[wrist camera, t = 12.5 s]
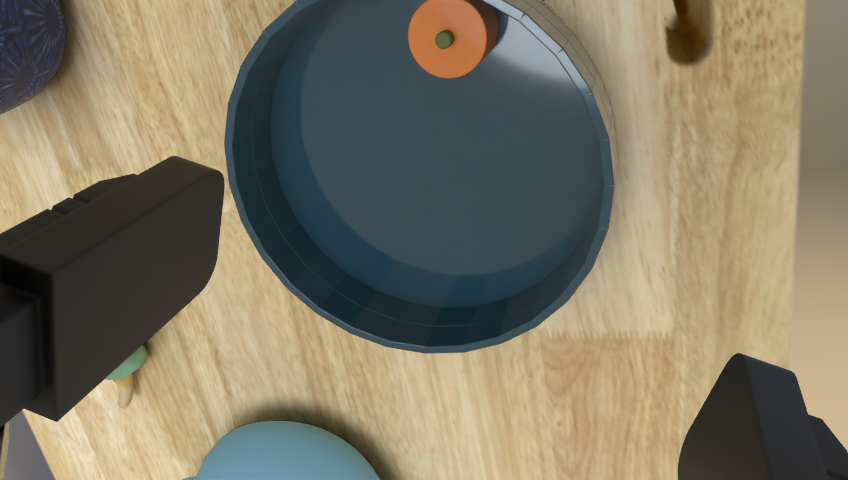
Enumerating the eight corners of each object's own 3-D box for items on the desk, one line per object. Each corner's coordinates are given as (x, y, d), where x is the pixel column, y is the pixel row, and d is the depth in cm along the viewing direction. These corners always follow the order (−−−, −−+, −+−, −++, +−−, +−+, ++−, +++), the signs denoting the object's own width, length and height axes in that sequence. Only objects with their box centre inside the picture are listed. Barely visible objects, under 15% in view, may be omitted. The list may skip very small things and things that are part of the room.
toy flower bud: (24, 460, 51) (-29, 326, 45) (103, 379, 59) (67, 255, 53) (110, 481, 50) (66, 345, 44) (180, 396, 57) (152, 269, 51)
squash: (457, -30, 36) (437, -22, 33) (514, 24, 37) (501, 37, 33) (410, 30, 38) (387, 43, 35) (465, 80, 39) (447, 99, 35)
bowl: (402, -130, 36) (369, -134, 31) (702, 151, 37) (709, 185, 33) (209, 156, 46) (163, 183, 42) (451, 365, 48) (432, 413, 43)
